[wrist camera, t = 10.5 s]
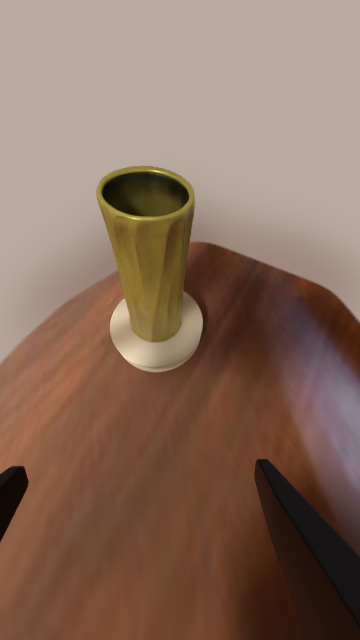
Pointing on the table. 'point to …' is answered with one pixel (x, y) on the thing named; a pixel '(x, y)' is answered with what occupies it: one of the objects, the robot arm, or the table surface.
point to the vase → (149, 244)
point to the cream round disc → (161, 353)
